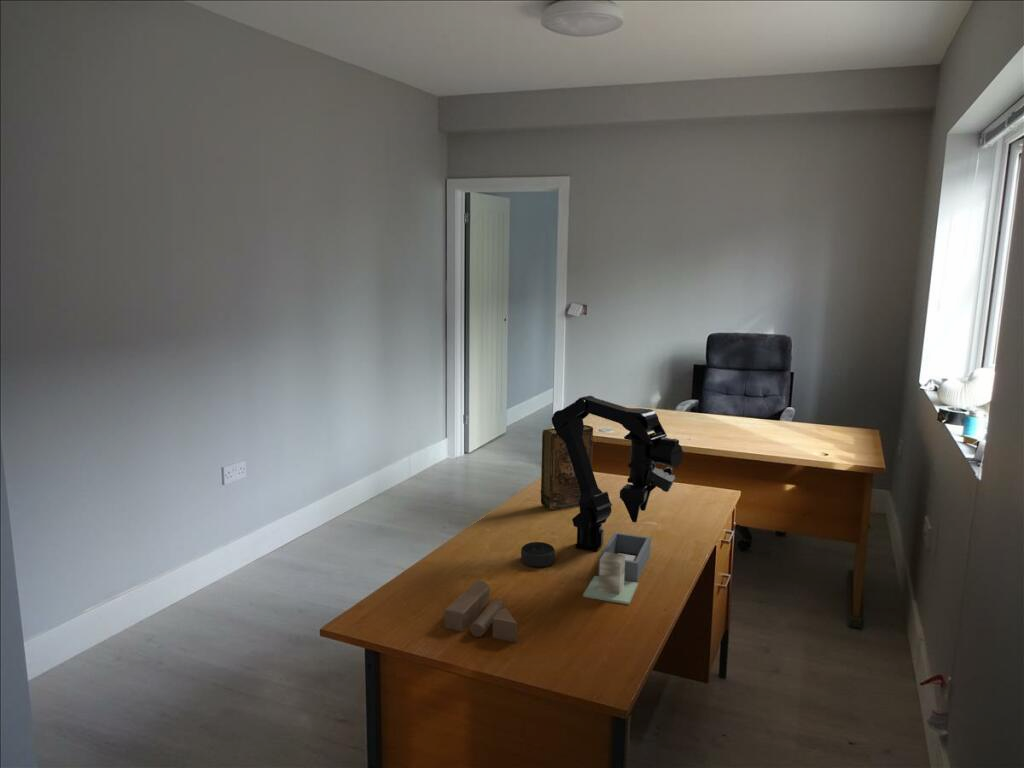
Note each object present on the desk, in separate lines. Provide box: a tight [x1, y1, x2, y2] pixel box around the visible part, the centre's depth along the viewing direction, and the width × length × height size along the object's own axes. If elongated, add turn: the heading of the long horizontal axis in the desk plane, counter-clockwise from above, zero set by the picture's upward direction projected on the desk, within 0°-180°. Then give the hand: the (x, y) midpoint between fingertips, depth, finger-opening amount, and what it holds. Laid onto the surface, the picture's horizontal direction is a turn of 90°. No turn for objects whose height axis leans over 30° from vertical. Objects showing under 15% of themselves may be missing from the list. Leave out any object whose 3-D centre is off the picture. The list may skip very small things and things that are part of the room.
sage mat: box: [582, 575, 639, 605], centre depth 185 cm, size 11×11×1 cm
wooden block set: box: [444, 579, 518, 643], centre depth 171 cm, size 17×6×18 cm
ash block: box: [599, 552, 625, 594], centre depth 184 cm, size 5×5×8 cm
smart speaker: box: [520, 541, 556, 568], centre depth 201 cm, size 9×9×4 cm
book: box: [540, 424, 594, 511], centre depth 242 cm, size 16×6×25 cm, turn 117°
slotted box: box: [597, 531, 652, 583], centre depth 199 cm, size 10×18×5 cm, turn 160°
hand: (638, 516), depth 199 cm, fingers open, 9 cm apart
